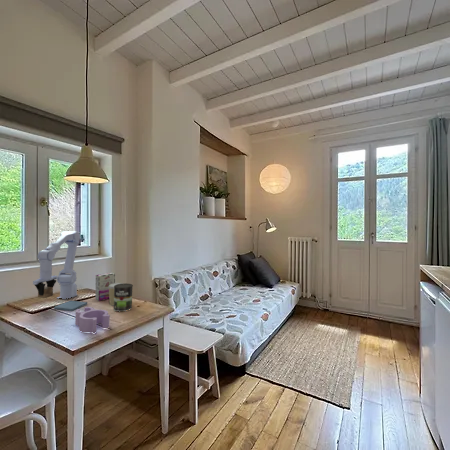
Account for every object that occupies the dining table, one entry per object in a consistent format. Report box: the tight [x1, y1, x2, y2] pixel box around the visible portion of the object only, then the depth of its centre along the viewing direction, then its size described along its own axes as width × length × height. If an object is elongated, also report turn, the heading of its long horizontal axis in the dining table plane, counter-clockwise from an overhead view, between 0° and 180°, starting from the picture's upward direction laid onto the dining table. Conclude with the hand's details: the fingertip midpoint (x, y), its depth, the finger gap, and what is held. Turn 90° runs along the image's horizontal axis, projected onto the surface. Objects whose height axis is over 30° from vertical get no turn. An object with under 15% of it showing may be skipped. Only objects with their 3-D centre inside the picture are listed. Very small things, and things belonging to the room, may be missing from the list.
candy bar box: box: [95, 272, 116, 302], centre depth 169 cm, size 11×5×16 cm, turn 143°
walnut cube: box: [37, 286, 54, 299], centre depth 148 cm, size 5×5×5 cm
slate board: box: [53, 300, 88, 312], centre depth 152 cm, size 12×12×1 cm
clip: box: [74, 306, 111, 334], centre depth 126 cm, size 20×12×7 cm, turn 55°
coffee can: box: [113, 282, 134, 313], centre depth 151 cm, size 10×10×14 cm
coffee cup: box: [108, 282, 124, 307], centre depth 160 cm, size 9×9×12 cm
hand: (45, 293), depth 148 cm, fingers closed on walnut cube, 5 cm apart
